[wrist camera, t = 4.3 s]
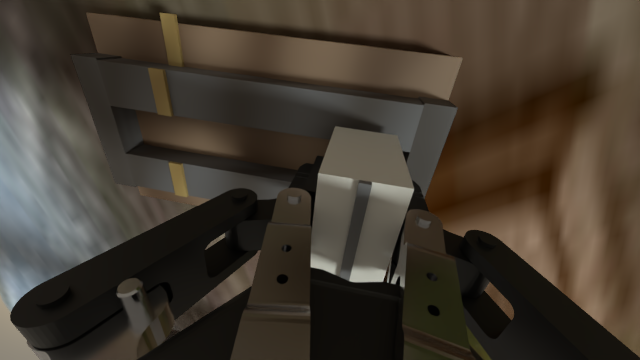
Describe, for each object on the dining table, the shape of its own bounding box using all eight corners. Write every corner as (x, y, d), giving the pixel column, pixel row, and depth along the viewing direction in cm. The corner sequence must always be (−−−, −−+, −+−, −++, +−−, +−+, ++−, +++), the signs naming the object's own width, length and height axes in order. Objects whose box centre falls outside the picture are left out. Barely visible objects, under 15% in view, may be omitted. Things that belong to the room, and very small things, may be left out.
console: (453, 47, 14) (480, 50, 10) (395, 225, 20) (401, 262, 17) (114, 7, 15) (46, -1, 12) (158, 182, 22) (121, 208, 18)
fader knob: (393, 123, 14) (415, 192, 8) (374, 199, 16) (379, 297, 10) (339, 115, 14) (317, 175, 8) (328, 191, 17) (305, 282, 10)
